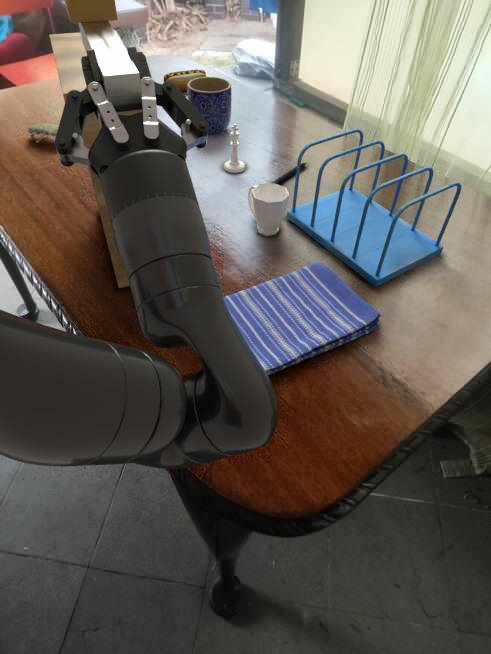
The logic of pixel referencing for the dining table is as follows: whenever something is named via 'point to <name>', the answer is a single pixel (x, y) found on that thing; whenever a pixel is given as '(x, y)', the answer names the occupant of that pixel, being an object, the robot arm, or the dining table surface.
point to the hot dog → (184, 77)
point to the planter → (212, 101)
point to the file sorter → (368, 220)
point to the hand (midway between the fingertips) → (111, 55)
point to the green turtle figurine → (43, 130)
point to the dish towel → (300, 316)
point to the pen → (288, 174)
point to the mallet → (107, 51)
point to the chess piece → (234, 154)
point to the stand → (87, 127)
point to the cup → (268, 206)
